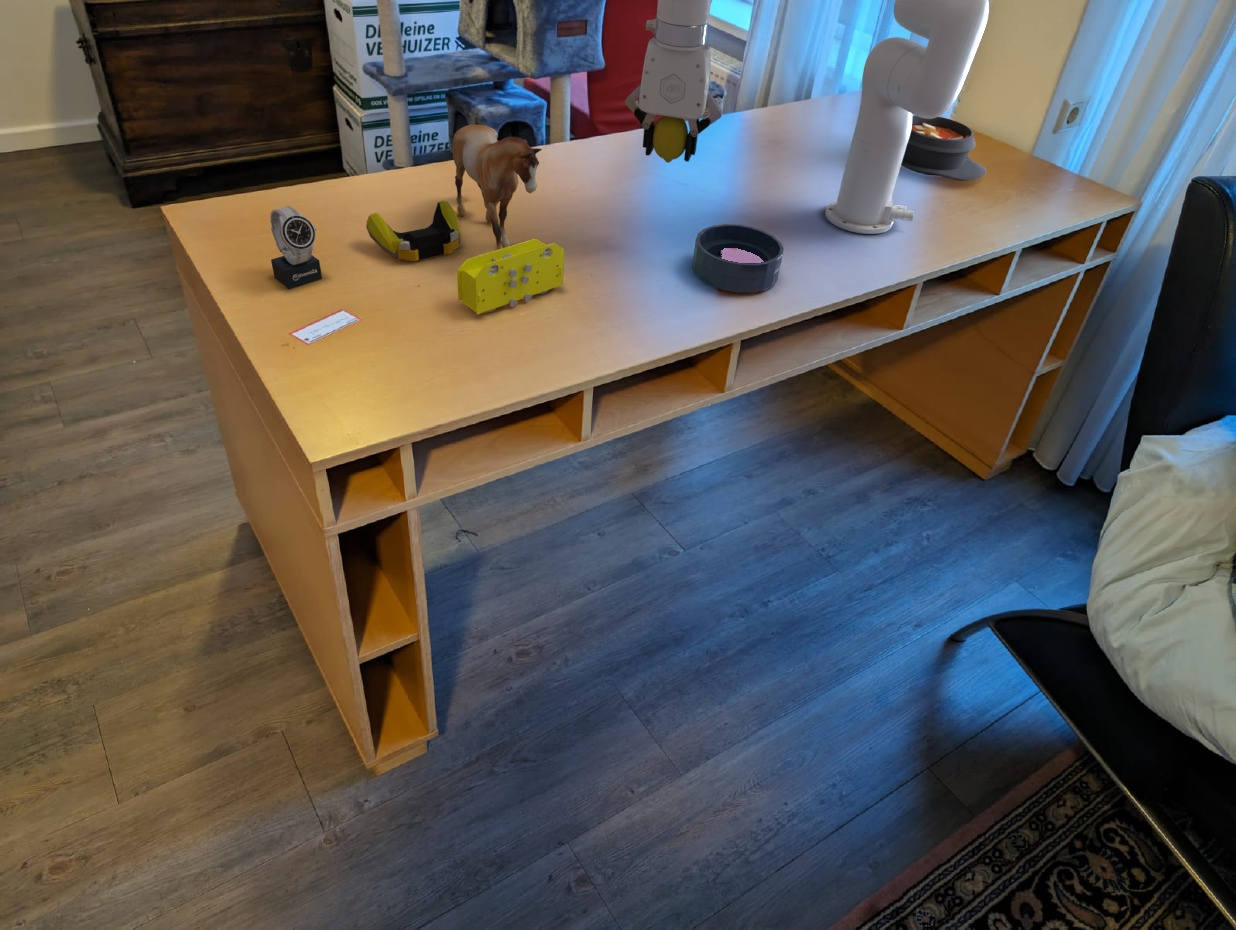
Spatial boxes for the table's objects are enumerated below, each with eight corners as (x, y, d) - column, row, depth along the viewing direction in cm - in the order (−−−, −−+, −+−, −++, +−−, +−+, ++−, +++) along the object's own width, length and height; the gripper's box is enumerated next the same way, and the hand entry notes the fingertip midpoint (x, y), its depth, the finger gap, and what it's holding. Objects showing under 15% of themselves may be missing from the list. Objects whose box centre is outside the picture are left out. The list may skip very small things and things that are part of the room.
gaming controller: (365, 243, 144) (388, 270, 138) (361, 211, 140) (384, 237, 134) (450, 227, 150) (475, 252, 144) (448, 196, 147) (474, 220, 141)
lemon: (672, 172, 137) (677, 120, 132) (643, 162, 139) (648, 111, 134) (691, 162, 140) (697, 112, 135) (663, 153, 143) (668, 102, 138)
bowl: (780, 262, 150) (786, 232, 146) (772, 302, 139) (779, 271, 136) (698, 248, 152) (703, 218, 148) (685, 286, 141) (689, 255, 137)
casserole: (999, 176, 188) (1013, 137, 182) (954, 196, 178) (967, 155, 172) (901, 139, 201) (911, 101, 196) (853, 155, 191) (863, 116, 185)
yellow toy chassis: (478, 320, 128) (477, 269, 123) (457, 304, 131) (454, 253, 126) (564, 290, 137) (566, 241, 132) (542, 275, 140) (543, 227, 135)
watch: (295, 295, 130) (282, 225, 123) (268, 273, 134) (254, 205, 127) (329, 283, 133) (318, 215, 126) (302, 263, 137) (290, 196, 130)
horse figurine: (541, 275, 140) (543, 148, 127) (494, 282, 137) (492, 152, 124) (484, 195, 161) (481, 79, 148) (443, 199, 158) (436, 81, 145)
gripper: (617, 32, 126) (610, 156, 137) (736, 48, 123) (718, 172, 135) (629, 19, 131) (621, 139, 143) (742, 34, 129) (725, 155, 141)
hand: (668, 154), depth 139 cm, fingers closed on lemon, 5 cm apart
